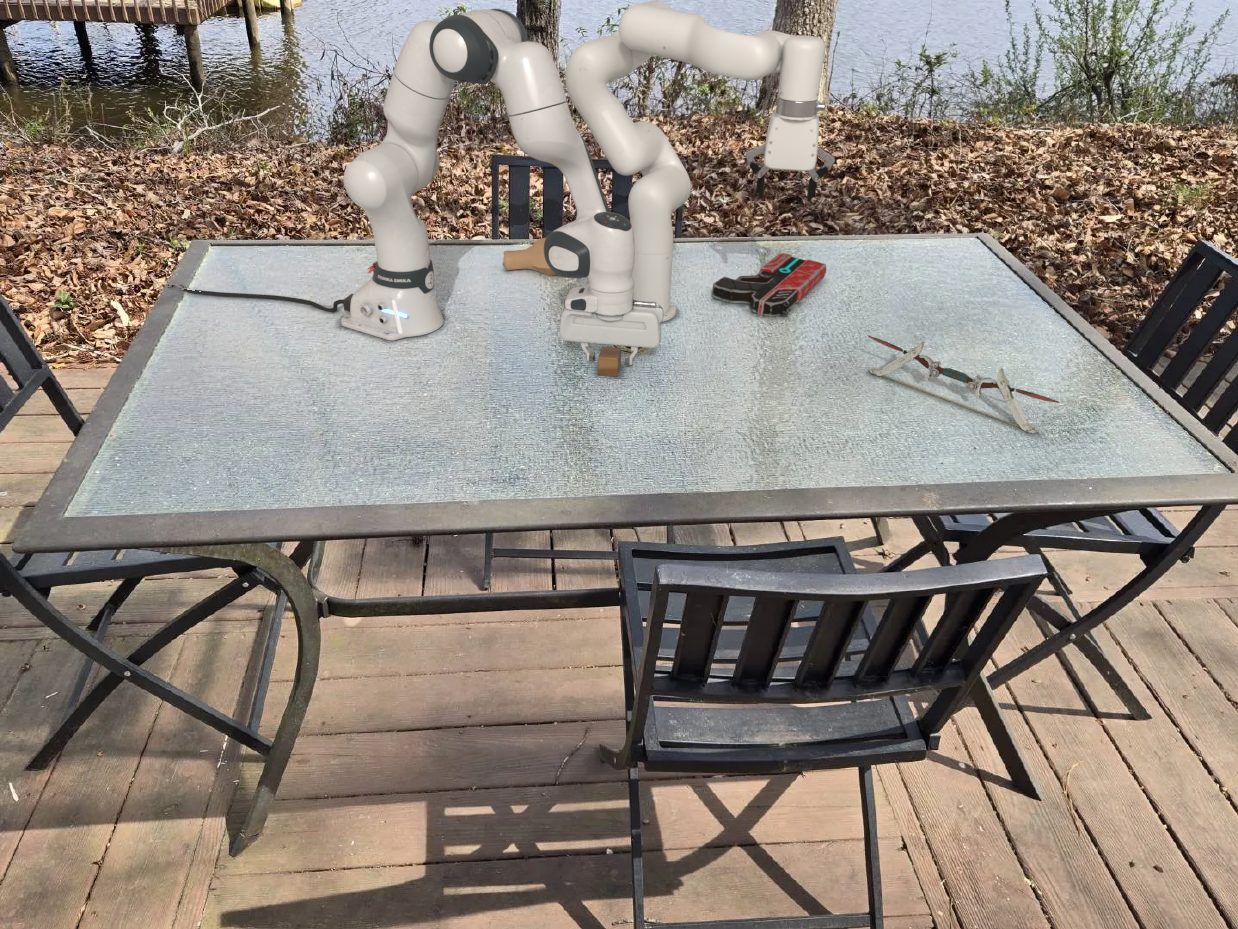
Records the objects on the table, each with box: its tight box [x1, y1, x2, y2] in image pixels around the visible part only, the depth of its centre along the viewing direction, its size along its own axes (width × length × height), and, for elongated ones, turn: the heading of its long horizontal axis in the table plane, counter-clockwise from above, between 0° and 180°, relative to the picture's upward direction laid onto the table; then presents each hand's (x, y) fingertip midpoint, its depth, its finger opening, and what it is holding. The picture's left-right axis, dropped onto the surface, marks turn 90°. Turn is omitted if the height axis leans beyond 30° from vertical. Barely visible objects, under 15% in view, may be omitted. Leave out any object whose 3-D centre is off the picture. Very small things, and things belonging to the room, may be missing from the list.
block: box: [597, 345, 622, 377], centre depth 178 cm, size 5×4×4 cm
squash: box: [502, 237, 558, 276], centre depth 221 cm, size 11×20×9 cm, turn 90°
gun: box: [711, 252, 827, 318], centre depth 215 cm, size 4×31×19 cm
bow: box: [867, 334, 1060, 434], centre depth 169 cm, size 39×2×10 cm, turn 47°
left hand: (609, 362), depth 178 cm, fingers open, 6 cm apart
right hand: (784, 197), depth 176 cm, fingers open, 9 cm apart
